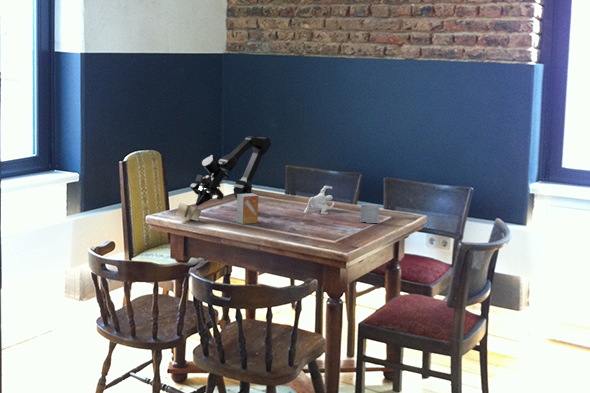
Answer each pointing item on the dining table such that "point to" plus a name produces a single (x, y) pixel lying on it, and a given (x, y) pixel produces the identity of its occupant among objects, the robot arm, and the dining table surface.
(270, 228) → the dining table surface
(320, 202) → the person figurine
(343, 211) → the dining table surface
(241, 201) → the small box
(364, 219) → the medicine box
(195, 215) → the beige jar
